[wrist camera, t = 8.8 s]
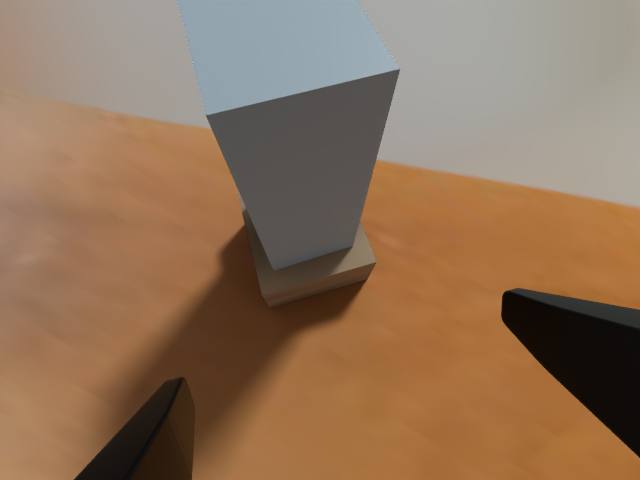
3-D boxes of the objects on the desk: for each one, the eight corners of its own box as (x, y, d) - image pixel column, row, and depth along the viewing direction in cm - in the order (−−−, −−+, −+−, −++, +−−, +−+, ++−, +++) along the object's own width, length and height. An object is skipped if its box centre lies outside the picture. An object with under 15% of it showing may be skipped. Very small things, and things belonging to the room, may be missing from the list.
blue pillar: (353, 245, 19) (399, 68, 8) (273, 270, 18) (205, 115, 7) (326, 180, 21) (334, -37, 10) (253, 200, 20) (175, -7, 9)
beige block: (366, 280, 22) (376, 261, 19) (270, 309, 22) (261, 295, 18) (335, 199, 25) (339, 168, 21) (249, 221, 24) (237, 193, 20)
